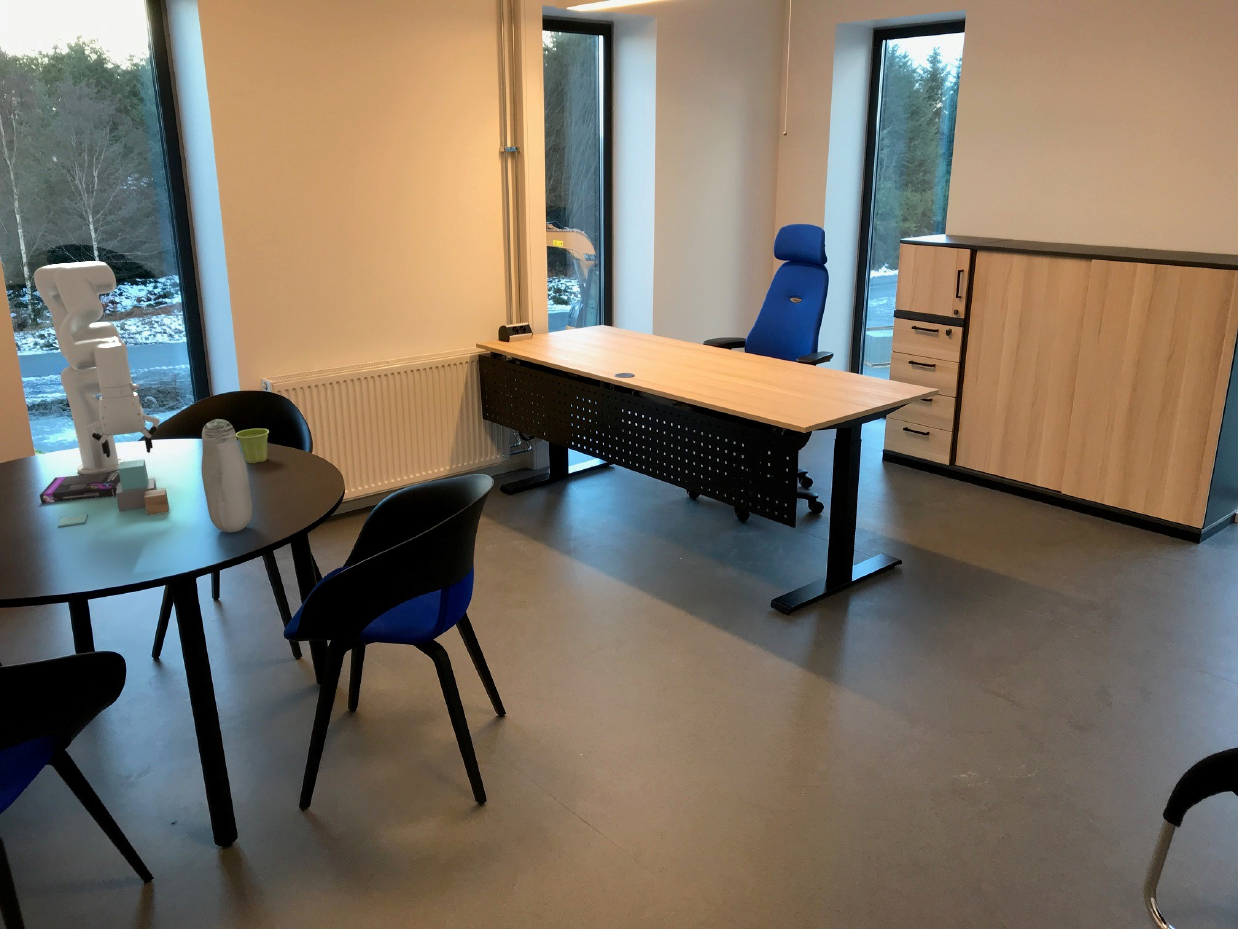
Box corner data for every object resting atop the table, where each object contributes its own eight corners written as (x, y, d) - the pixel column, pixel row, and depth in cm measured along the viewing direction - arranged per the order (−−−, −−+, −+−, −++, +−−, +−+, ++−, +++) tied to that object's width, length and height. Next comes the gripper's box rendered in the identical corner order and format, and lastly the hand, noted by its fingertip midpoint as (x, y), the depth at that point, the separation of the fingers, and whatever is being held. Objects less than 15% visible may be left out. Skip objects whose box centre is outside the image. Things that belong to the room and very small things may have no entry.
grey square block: (121, 500, 268) (118, 482, 266) (158, 495, 271) (154, 477, 269) (119, 511, 260) (115, 493, 258) (156, 505, 263) (153, 488, 261)
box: (41, 506, 268) (119, 498, 271) (38, 494, 267) (116, 486, 270) (57, 489, 281) (131, 480, 284) (54, 477, 279) (128, 469, 283)
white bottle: (254, 534, 242) (237, 424, 233) (210, 540, 239) (191, 428, 230) (256, 520, 251) (240, 413, 242) (213, 525, 248) (195, 417, 239)
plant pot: (249, 455, 303) (245, 428, 301) (278, 455, 302) (274, 428, 299) (234, 465, 295) (229, 437, 292) (263, 465, 293) (259, 437, 290)
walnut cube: (148, 509, 261) (145, 491, 260) (168, 506, 263) (165, 488, 261) (147, 515, 257) (144, 497, 255) (168, 512, 258) (165, 494, 257)
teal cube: (124, 483, 266) (119, 462, 264) (148, 480, 268) (144, 459, 266) (122, 490, 260) (118, 468, 258) (147, 487, 262) (143, 465, 260)
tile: (61, 519, 255) (61, 517, 255) (87, 515, 257) (87, 513, 257) (58, 527, 250) (58, 525, 250) (85, 523, 252) (84, 521, 252)
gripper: (154, 383, 262) (165, 445, 268) (81, 390, 256) (93, 453, 262) (153, 390, 256) (164, 453, 261) (78, 398, 249) (91, 462, 255)
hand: (128, 453), depth 262 cm, fingers open, 9 cm apart
